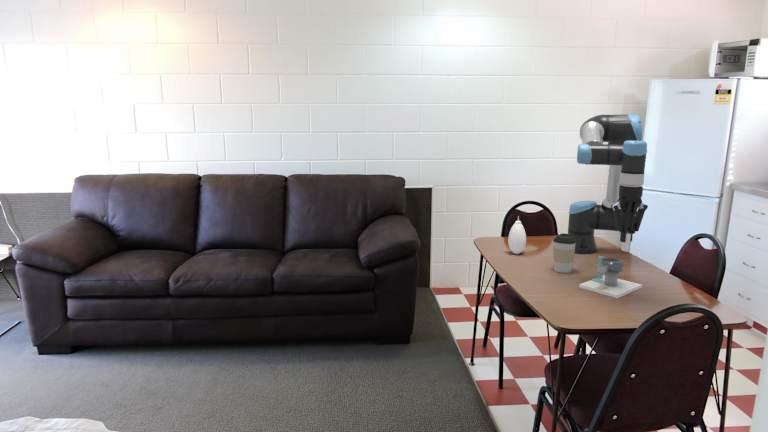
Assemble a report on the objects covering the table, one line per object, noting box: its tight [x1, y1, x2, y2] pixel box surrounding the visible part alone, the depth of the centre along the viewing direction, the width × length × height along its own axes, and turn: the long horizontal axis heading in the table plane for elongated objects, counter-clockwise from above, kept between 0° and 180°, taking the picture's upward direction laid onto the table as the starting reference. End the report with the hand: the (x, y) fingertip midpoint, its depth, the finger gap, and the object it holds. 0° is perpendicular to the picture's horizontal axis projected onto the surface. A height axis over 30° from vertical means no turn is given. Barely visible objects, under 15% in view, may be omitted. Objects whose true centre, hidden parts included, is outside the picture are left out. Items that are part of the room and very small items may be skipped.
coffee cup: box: [552, 233, 576, 274], centre depth 219 cm, size 9×9×15 cm
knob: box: [597, 257, 625, 273], centre depth 197 cm, size 15×8×3 cm, turn 128°
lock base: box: [578, 255, 643, 299], centre depth 198 cm, size 18×15×10 cm
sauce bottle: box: [507, 215, 527, 255], centre depth 243 cm, size 8×8×18 cm
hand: (625, 250), depth 189 cm, fingers closed
